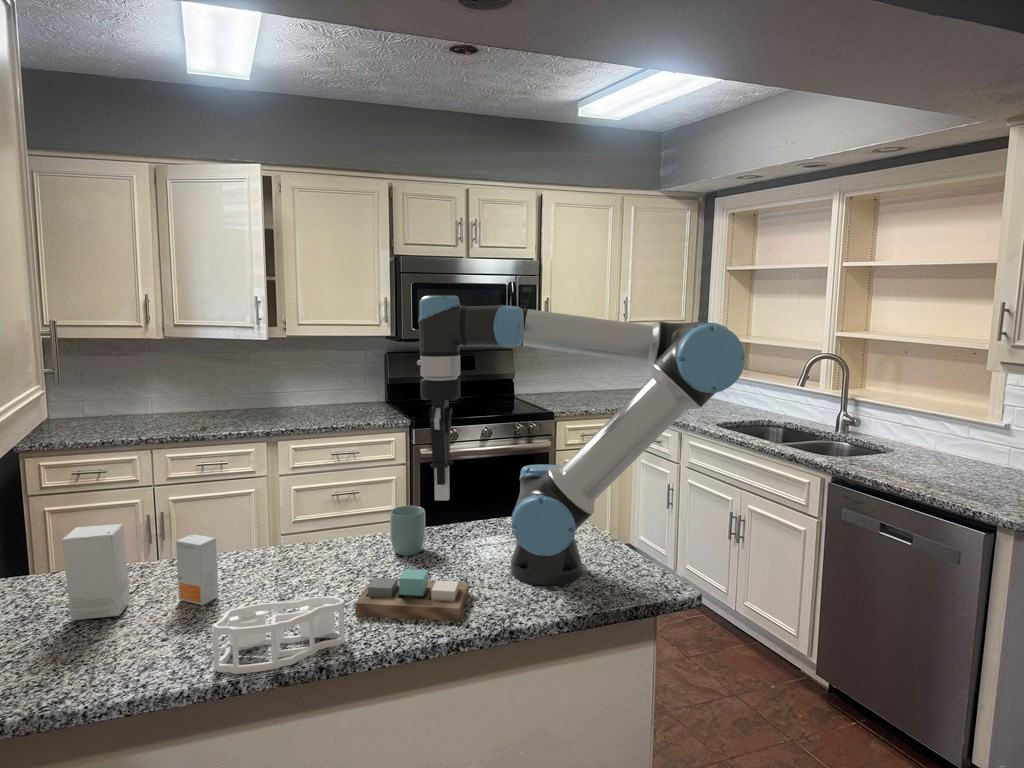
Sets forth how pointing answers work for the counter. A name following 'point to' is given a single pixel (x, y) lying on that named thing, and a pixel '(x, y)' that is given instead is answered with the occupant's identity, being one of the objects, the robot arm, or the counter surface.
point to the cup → (407, 529)
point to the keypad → (412, 605)
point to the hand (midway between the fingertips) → (442, 499)
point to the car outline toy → (278, 631)
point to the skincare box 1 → (96, 571)
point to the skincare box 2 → (197, 569)
